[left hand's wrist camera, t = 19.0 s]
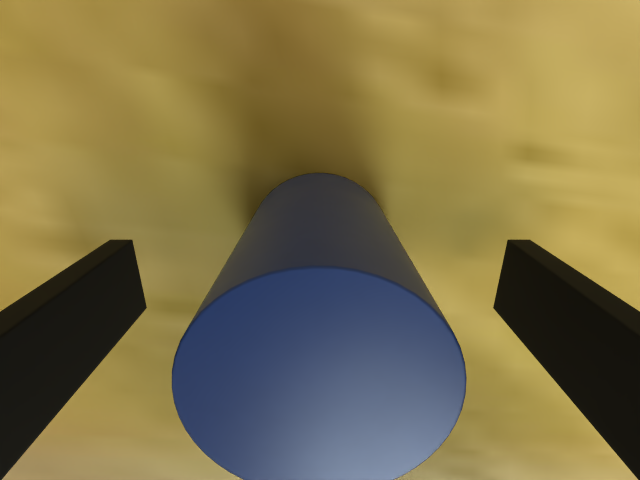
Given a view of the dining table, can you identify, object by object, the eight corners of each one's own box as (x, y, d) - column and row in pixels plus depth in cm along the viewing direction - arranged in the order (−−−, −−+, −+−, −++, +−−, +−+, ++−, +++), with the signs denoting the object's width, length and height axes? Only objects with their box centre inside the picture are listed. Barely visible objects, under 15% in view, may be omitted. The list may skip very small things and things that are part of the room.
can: (249, 294, 17) (178, 488, 8) (252, 165, 14) (160, 251, 6) (375, 304, 17) (432, 504, 8) (398, 180, 15) (504, 281, 6)
